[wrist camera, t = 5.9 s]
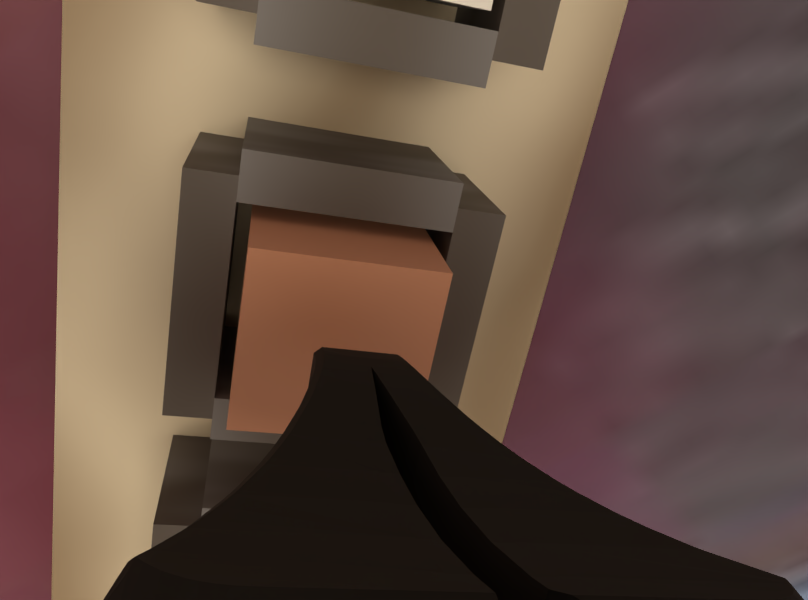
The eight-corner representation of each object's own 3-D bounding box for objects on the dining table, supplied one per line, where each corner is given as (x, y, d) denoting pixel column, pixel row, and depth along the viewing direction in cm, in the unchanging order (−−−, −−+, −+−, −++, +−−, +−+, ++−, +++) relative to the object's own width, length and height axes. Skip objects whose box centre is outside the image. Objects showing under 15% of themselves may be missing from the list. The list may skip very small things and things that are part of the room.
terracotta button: (422, 223, 16) (453, 273, 13) (391, 370, 17) (413, 443, 14) (252, 199, 15) (248, 248, 12) (234, 355, 16) (226, 429, 13)
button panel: (679, -288, 16) (843, -398, 11) (433, 613, 25) (469, 750, 21) (93, -484, 13) (-3, -733, 9) (64, 607, 22) (11, 764, 18)
